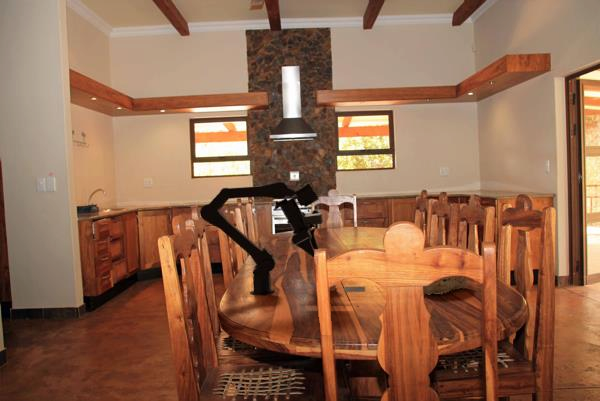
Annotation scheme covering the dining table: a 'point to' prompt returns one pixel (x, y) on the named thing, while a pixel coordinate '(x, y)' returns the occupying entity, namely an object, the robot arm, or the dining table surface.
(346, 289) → the stamping board
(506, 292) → the dining table surface
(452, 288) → the rock
